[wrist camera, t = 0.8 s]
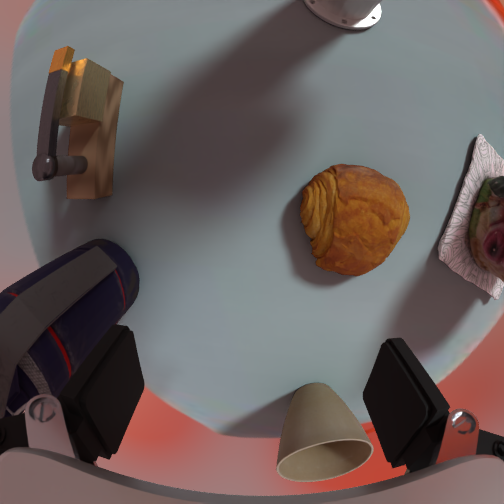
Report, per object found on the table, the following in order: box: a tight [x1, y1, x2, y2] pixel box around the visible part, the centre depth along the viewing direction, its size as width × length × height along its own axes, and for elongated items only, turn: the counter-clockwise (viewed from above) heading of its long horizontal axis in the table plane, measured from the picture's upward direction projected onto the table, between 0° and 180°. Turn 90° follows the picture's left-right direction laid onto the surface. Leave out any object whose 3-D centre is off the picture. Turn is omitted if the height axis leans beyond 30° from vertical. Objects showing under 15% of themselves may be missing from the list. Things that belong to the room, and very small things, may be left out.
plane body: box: [55, 74, 124, 199], centre depth 27 cm, size 17×5×11 cm, turn 175°
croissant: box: [300, 164, 410, 276], centre depth 33 cm, size 14×16×8 cm
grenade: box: [0, 239, 140, 418], centre depth 24 cm, size 14×12×30 cm
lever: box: [32, 46, 75, 181], centre depth 20 cm, size 16×3×2 cm, turn 175°
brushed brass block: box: [59, 58, 111, 126], centre depth 23 cm, size 7×6×6 cm
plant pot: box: [276, 383, 373, 482], centre depth 37 cm, size 15×15×16 cm
